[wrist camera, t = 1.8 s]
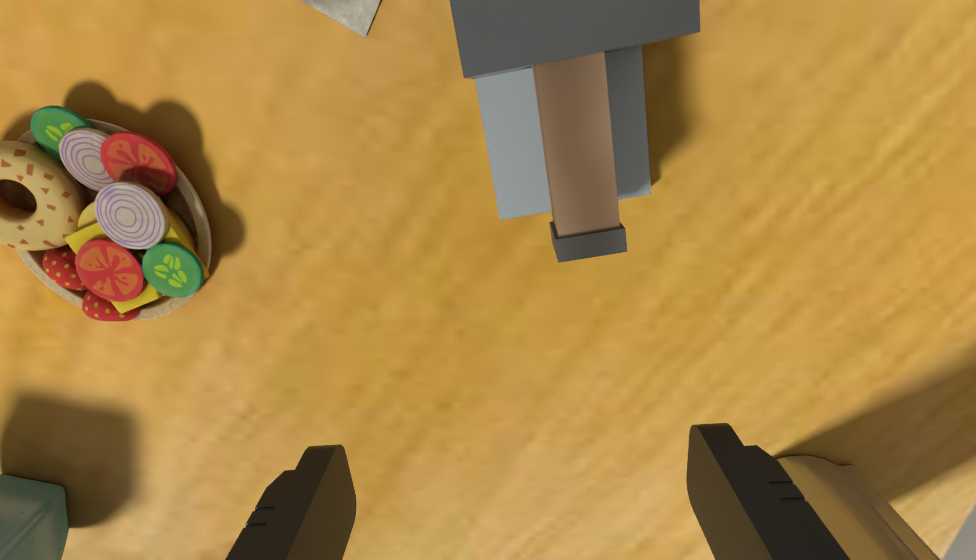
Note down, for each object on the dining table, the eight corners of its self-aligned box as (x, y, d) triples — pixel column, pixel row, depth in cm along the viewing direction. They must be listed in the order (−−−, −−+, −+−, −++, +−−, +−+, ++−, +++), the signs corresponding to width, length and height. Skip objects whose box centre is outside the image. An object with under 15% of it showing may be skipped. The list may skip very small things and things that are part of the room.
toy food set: (-34, 160, 31) (-91, 168, 28) (138, 69, 29) (96, 68, 26) (104, 337, 36) (67, 361, 33) (263, 270, 34) (239, 289, 30)
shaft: (559, -328, 20) (570, -405, 17) (613, 232, 28) (627, 251, 25) (475, -305, 20) (470, -377, 17) (552, 242, 28) (558, 262, 25)
